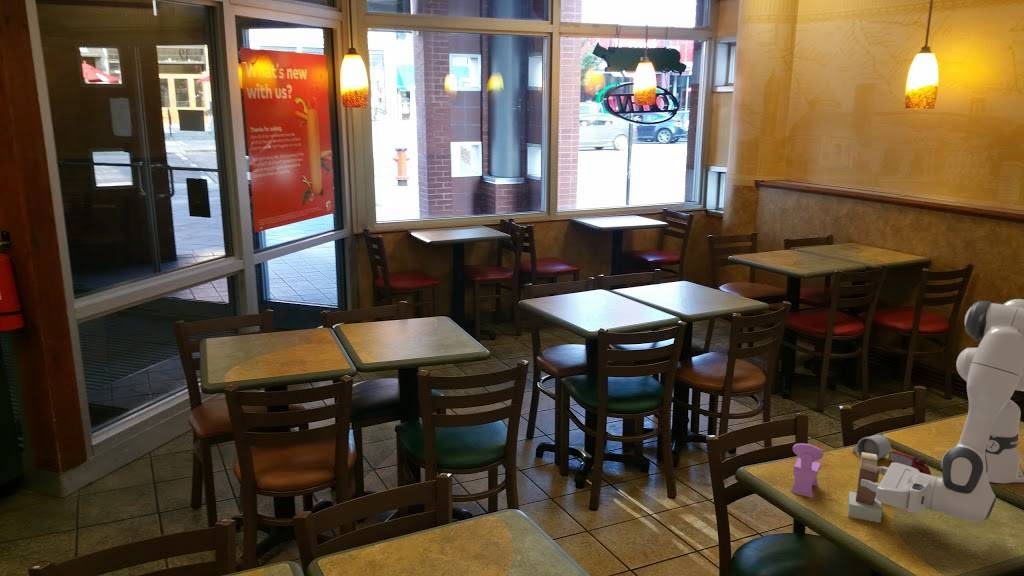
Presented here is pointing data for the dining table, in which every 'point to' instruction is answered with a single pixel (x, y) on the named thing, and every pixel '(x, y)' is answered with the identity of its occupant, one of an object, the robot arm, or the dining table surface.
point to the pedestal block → (864, 509)
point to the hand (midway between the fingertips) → (865, 474)
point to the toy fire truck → (909, 461)
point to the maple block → (868, 460)
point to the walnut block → (863, 492)
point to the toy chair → (806, 468)
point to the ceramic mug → (873, 446)
